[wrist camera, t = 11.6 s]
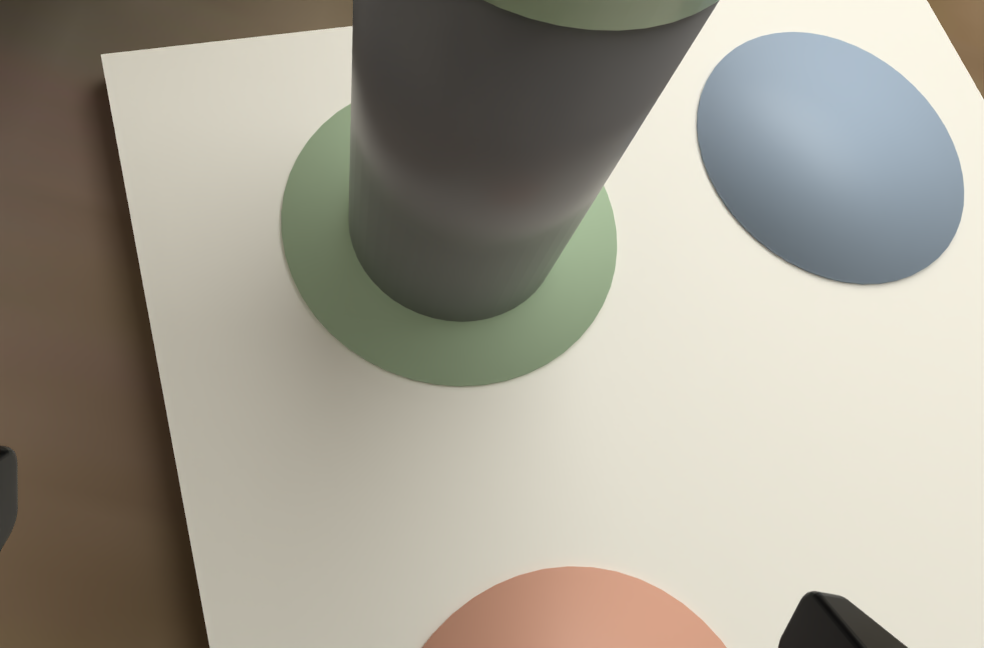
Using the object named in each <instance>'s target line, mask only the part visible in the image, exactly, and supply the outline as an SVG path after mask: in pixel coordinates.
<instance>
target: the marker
mask: <svg viewBox="0 0 984 648" xmlns="http://www.w3.org/2000/svg"><path fill="white" fill-rule="evenodd" d="M719 1H720V0H353V32H352V78H351V125H350V172H349V219H348V220H349V233H350V237H351V241H352V245H353V248H354V251H355V253H356V256H357V258H358V260H359V262H360V264H361V265H362V267H363V269H364V271H365V272H366V273H367V275H368V276H369V277H370V279H371V280H372V281H373V282H374V283H375V284H376V285H377V286H378V287H379V288H380V289H381V290H382V291H383V292H384V293H385V294H386V295H388V296H389V297H390V298H391V299H393V300H394V301H396V302H397V303H399V304H401V305H402V306H404V307H405V308H408V309H410V310H412V311H414V312H416V313H419V314H422V315H425V316H428V317H431V318H435V319H440V320H446V321H458V322H465V321H478V320H483V319H488V318H492V317H495V316H498V315H501V314H503V313H505V312H508V311H510V310H512V309H514V308H515V307H517V306H518V305H520V304H521V303H523V302H524V301H526V300H527V299H528V298H529V297H530V296H531V295H532V294H534V293H535V292H536V290H537V289H538V288H539V287H540V286H541V284H542V283H543V282H544V280H545V278H546V277H547V275H548V274H549V272H550V270H551V269H552V267H553V266H554V264H555V262H556V261H557V259H558V258H559V256H560V255H561V253H562V251H563V250H564V248H565V247H566V245H567V243H568V242H569V240H570V239H571V237H572V235H573V234H574V232H575V231H576V229H577V227H578V226H579V224H580V223H581V221H582V219H583V218H584V216H585V215H586V213H587V211H588V210H589V208H590V207H591V205H592V203H593V202H594V200H595V199H596V197H597V195H598V194H599V192H600V191H601V189H602V187H603V186H604V184H605V183H606V181H607V179H608V178H609V176H610V175H611V173H612V171H613V170H614V168H615V167H616V165H617V163H618V162H619V160H620V159H621V157H622V155H623V154H624V152H625V151H626V149H627V147H628V146H629V144H630V143H631V141H632V139H633V138H634V136H635V135H636V133H637V132H638V130H639V128H640V127H641V125H642V124H643V122H644V120H645V119H646V117H647V116H648V114H649V112H650V111H651V109H652V108H653V106H654V104H655V103H656V101H657V100H658V98H659V96H660V95H661V93H662V92H663V90H664V88H665V87H666V85H667V84H668V82H669V80H670V79H671V77H672V76H673V74H674V72H675V71H676V69H677V68H678V66H679V64H680V63H681V61H682V60H683V58H684V56H685V55H686V53H687V52H688V50H689V48H690V47H691V45H692V44H693V42H694V40H695V39H696V37H697V36H698V34H699V32H700V31H701V29H702V28H703V26H704V24H705V23H706V21H707V20H708V18H709V17H710V15H711V13H712V12H713V10H714V9H715V7H716V5H717V4H718V2H719Z"/></svg>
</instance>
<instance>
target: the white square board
mask: <svg viewBox="0 0 984 648" xmlns="http://www.w3.org/2000/svg"><path fill="white" fill-rule="evenodd" d="M352 32H353V26H349V27H340V28H331V29H322V30H314V31H305V32H296V33H287V34H278V35H269V36H260V37H252V38H243V39H234V40H225V41H216V42H207V43H198V44H190V45H181V46H172V47H163V48H154V49H145V50H136V51H128V52H119V53H110V54H101V59H102V64H103V69H104V75H105V80H106V86H107V91H108V97H109V102H110V108H111V113H112V118H113V124H114V129H115V135H116V140H117V146H118V151H119V157H120V162H121V167H122V173H123V178H124V184H125V189H126V195H127V200H128V206H129V211H130V216H131V222H132V227H133V233H134V238H135V244H136V249H137V255H138V260H139V265H140V271H141V276H142V282H143V287H144V293H145V298H146V303H147V309H148V314H149V320H150V325H151V331H152V336H153V342H154V347H155V352H156V358H157V363H158V369H159V374H160V380H161V385H162V391H163V396H164V401H165V407H166V412H167V418H168V423H169V429H170V434H171V440H172V445H173V450H174V456H175V461H176V467H177V472H178V478H179V483H180V489H181V494H182V499H183V505H184V510H185V516H186V521H187V527H188V532H189V537H190V543H191V548H192V554H193V559H194V565H195V570H196V576H197V581H198V586H199V592H200V597H201V603H202V608H203V614H204V619H205V625H206V630H207V635H208V641H209V646H210V648H778V645H779V641H780V638H781V636H782V634H783V632H784V630H785V628H786V626H787V625H788V623H789V621H790V619H791V617H792V615H793V613H794V611H795V609H796V607H797V605H798V604H799V602H800V600H801V598H802V597H803V596H804V595H805V594H806V593H807V592H810V591H819V592H825V593H830V594H836V595H840V596H843V597H845V598H846V599H848V600H849V601H850V602H852V603H853V604H854V605H855V606H857V607H858V608H859V609H860V610H862V611H863V612H864V613H865V614H867V615H868V616H869V617H870V618H872V619H873V620H874V621H875V622H877V623H878V624H879V625H880V626H882V627H883V628H884V629H885V630H887V631H888V632H889V633H890V634H892V635H893V636H894V637H895V638H897V639H898V640H899V641H900V642H902V643H903V644H904V645H906V646H907V647H908V648H984V99H983V98H982V96H981V94H980V92H979V91H978V89H977V87H976V85H975V84H974V82H973V80H972V78H971V77H970V75H969V73H968V71H967V70H966V68H965V66H964V64H963V63H962V61H961V59H960V57H959V56H958V54H957V52H956V50H955V49H954V47H953V45H952V43H951V42H950V40H949V38H948V36H947V35H946V33H945V31H944V29H943V28H942V26H941V24H940V23H939V21H938V19H937V17H936V16H935V14H934V12H933V10H932V9H931V7H930V5H929V3H928V2H927V0H720V1H719V2H718V4H717V5H716V7H715V9H714V10H713V12H712V13H711V15H710V17H709V18H708V20H707V21H706V23H705V24H704V26H703V28H702V29H701V31H700V32H699V34H698V36H697V37H696V39H695V40H694V42H693V44H692V45H691V47H690V48H689V50H688V52H687V53H686V55H685V56H684V58H683V60H682V61H681V63H680V64H679V66H678V68H677V69H676V71H675V72H674V74H673V76H672V77H671V79H670V80H669V82H668V84H667V85H666V87H665V88H664V90H663V92H662V93H661V95H660V96H659V98H658V100H657V101H656V103H655V104H654V106H653V108H652V109H651V111H650V112H649V114H648V116H647V117H646V119H645V120H644V122H643V124H642V125H641V127H640V128H639V130H638V132H637V133H636V135H635V136H634V138H633V139H632V141H631V143H630V144H629V146H628V147H627V149H626V151H625V152H624V154H623V155H622V157H621V159H620V160H619V162H618V163H617V165H616V167H615V168H614V170H613V171H612V173H611V175H610V176H609V178H608V179H607V181H606V183H605V184H604V186H603V187H602V189H601V191H600V192H599V194H598V195H597V197H596V199H595V200H594V202H593V203H592V205H591V207H590V208H589V210H588V211H587V213H586V215H585V216H584V218H583V219H582V221H581V223H580V224H579V226H578V227H577V229H576V231H575V232H574V234H573V235H572V237H571V239H570V240H569V242H568V243H567V245H566V247H565V248H564V250H563V251H562V253H561V255H560V256H559V258H558V259H557V261H556V262H555V264H554V266H553V267H552V269H551V270H550V272H549V274H548V275H547V277H546V278H545V280H544V282H543V283H542V284H541V286H540V287H539V288H538V289H537V290H536V292H535V293H534V294H532V295H531V296H530V297H529V298H528V299H527V300H526V301H524V302H523V303H521V304H520V305H518V306H517V307H515V308H514V309H512V310H510V311H508V312H505V313H503V314H501V315H498V316H495V317H492V318H488V319H483V320H478V321H465V322H458V321H446V320H440V319H435V318H431V317H428V316H425V315H422V314H419V313H416V312H414V311H412V310H410V309H408V308H405V307H404V306H402V305H401V304H399V303H397V302H396V301H394V300H393V299H391V298H390V297H389V296H388V295H386V294H385V293H384V292H383V291H382V290H381V289H380V288H379V287H378V286H377V285H376V284H375V283H374V282H373V281H372V280H371V279H370V277H369V276H368V275H367V273H366V272H365V271H364V269H363V267H362V265H361V264H360V262H359V260H358V258H357V256H356V253H355V251H354V248H353V245H352V241H351V237H350V233H349V220H348V219H349V172H350V125H351V78H352Z"/></svg>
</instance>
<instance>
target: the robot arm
mask: <svg viewBox="0 0 984 648" xmlns="http://www.w3.org/2000/svg"><path fill="white" fill-rule="evenodd" d="M17 509H18V488H17V456H16V454H15V452H14V451H13V450H12V449H11V448H9V447H6V446H1V445H0V551H1V549H2V547H3V546H4V544H5V542H6V540H7V539H8V537H9V535H10V533H11V532H12V529H13V527H14V524H15V521H16V517H17ZM778 648H908V647H907V646H906V645H904V644H903V643H902V642H900V641H899V640H898V639H897V638H895V637H894V636H893V635H892V634H890V633H889V632H888V631H887V630H885V629H884V628H883V627H882V626H880V625H879V624H878V623H877V622H875V621H874V620H873V619H872V618H870V617H869V616H868V615H867V614H865V613H864V612H863V611H862V610H860V609H859V608H858V607H857V606H855V605H854V604H853V603H852V602H850V601H849V600H848V599H846V598H845V597H843V596H840V595H836V594H830V593H825V592H819V591H810V592H807V593H806V594H805V595H804V596H803V597H802V598H801V600H800V602H799V604H798V605H797V607H796V609H795V611H794V613H793V615H792V617H791V619H790V621H789V623H788V625H787V626H786V628H785V630H784V632H783V634H782V636H781V638H780V641H779V645H778Z"/></svg>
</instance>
